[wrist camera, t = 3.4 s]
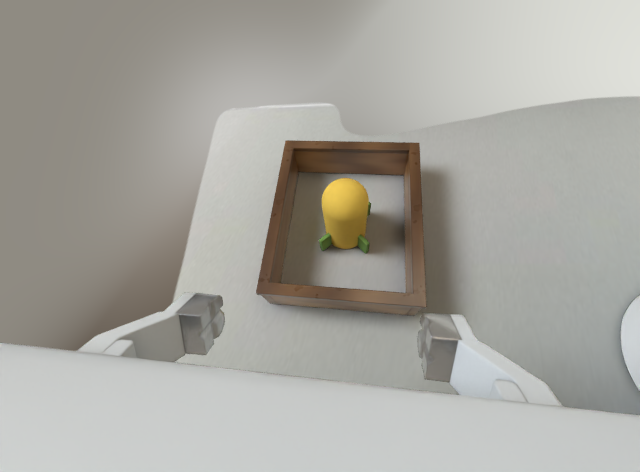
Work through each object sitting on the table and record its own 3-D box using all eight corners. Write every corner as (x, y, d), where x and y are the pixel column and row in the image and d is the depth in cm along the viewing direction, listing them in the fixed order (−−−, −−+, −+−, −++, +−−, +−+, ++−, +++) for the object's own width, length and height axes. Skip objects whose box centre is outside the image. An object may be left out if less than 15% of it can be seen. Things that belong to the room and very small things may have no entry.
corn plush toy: (369, 212, 35) (375, 165, 27) (368, 254, 33) (373, 215, 25) (325, 210, 36) (318, 163, 28) (320, 251, 34) (312, 212, 26)
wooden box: (411, 169, 37) (419, 142, 33) (416, 317, 30) (426, 307, 25) (292, 165, 39) (285, 140, 35) (267, 304, 31) (255, 293, 27)
